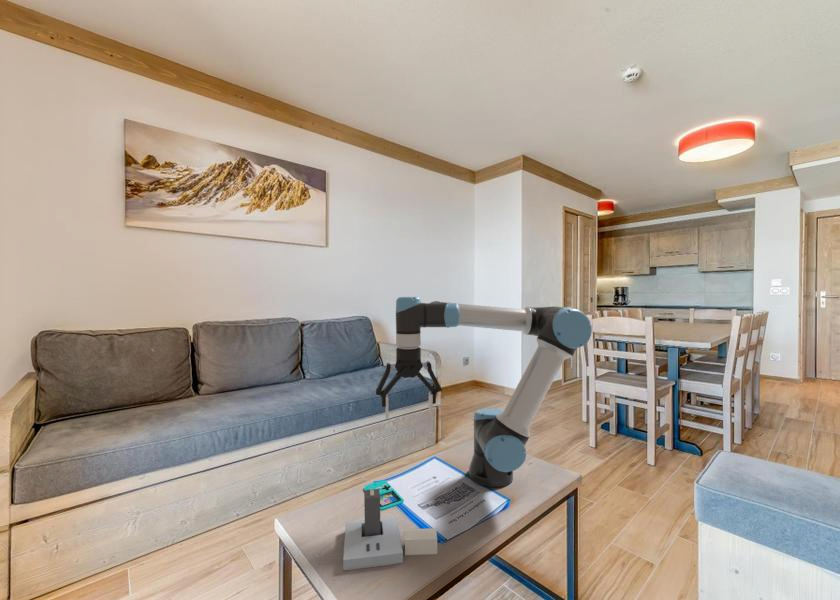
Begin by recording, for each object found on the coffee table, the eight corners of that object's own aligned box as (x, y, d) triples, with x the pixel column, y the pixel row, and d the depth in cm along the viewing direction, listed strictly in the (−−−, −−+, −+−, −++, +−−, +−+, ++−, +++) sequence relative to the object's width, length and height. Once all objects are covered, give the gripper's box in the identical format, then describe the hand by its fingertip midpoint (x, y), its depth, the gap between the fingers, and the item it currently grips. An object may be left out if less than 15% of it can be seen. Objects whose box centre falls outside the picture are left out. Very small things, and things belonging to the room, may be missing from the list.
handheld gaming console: (384, 478, 124) (405, 500, 111) (384, 481, 124) (405, 503, 111) (361, 485, 120) (380, 509, 107) (361, 488, 120) (380, 512, 107)
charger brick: (379, 532, 97) (379, 487, 97) (380, 542, 93) (380, 495, 93) (364, 534, 97) (364, 488, 96) (364, 544, 93) (364, 497, 93)
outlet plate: (397, 525, 100) (397, 516, 100) (403, 562, 86) (402, 551, 86) (345, 531, 98) (345, 521, 98) (343, 570, 84) (343, 559, 84)
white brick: (436, 543, 93) (435, 528, 93) (437, 554, 89) (437, 538, 89) (405, 544, 93) (404, 529, 93) (405, 556, 89) (404, 540, 89)
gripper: (445, 343, 116) (445, 409, 117) (367, 346, 112) (368, 414, 113) (451, 347, 109) (451, 417, 109) (367, 350, 105) (368, 422, 105)
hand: (409, 415), depth 111 cm, fingers open, 13 cm apart
